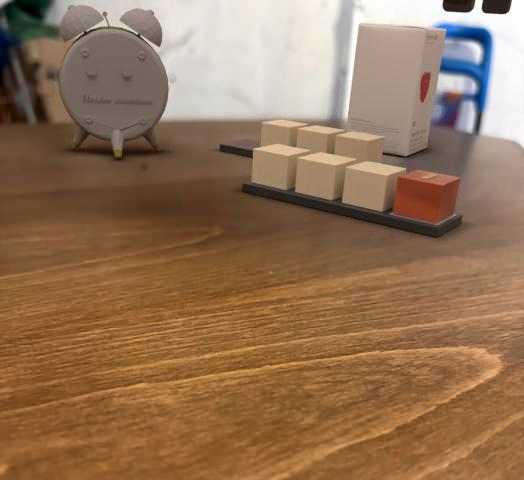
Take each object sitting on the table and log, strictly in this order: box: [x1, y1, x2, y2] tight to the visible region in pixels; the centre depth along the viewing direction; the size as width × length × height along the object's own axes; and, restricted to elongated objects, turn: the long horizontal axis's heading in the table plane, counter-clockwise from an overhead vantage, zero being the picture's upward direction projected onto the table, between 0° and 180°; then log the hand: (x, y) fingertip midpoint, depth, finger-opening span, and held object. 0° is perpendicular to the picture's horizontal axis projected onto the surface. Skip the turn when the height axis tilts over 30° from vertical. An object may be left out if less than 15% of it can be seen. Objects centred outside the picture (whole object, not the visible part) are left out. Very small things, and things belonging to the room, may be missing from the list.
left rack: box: [219, 119, 385, 164], centre depth 78 cm, size 6×20×4 cm, turn 55°
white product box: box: [345, 22, 447, 157], centre depth 87 cm, size 9×9×15 cm
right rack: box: [241, 144, 464, 238], centre depth 61 cm, size 6×20×4 cm, turn 55°
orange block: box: [393, 169, 461, 223], centre depth 57 cm, size 4×4×3 cm
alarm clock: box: [58, 4, 170, 160], centre depth 73 cm, size 12×7×15 cm, turn 102°
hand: (477, 13), depth 52 cm, fingers open, 8 cm apart
